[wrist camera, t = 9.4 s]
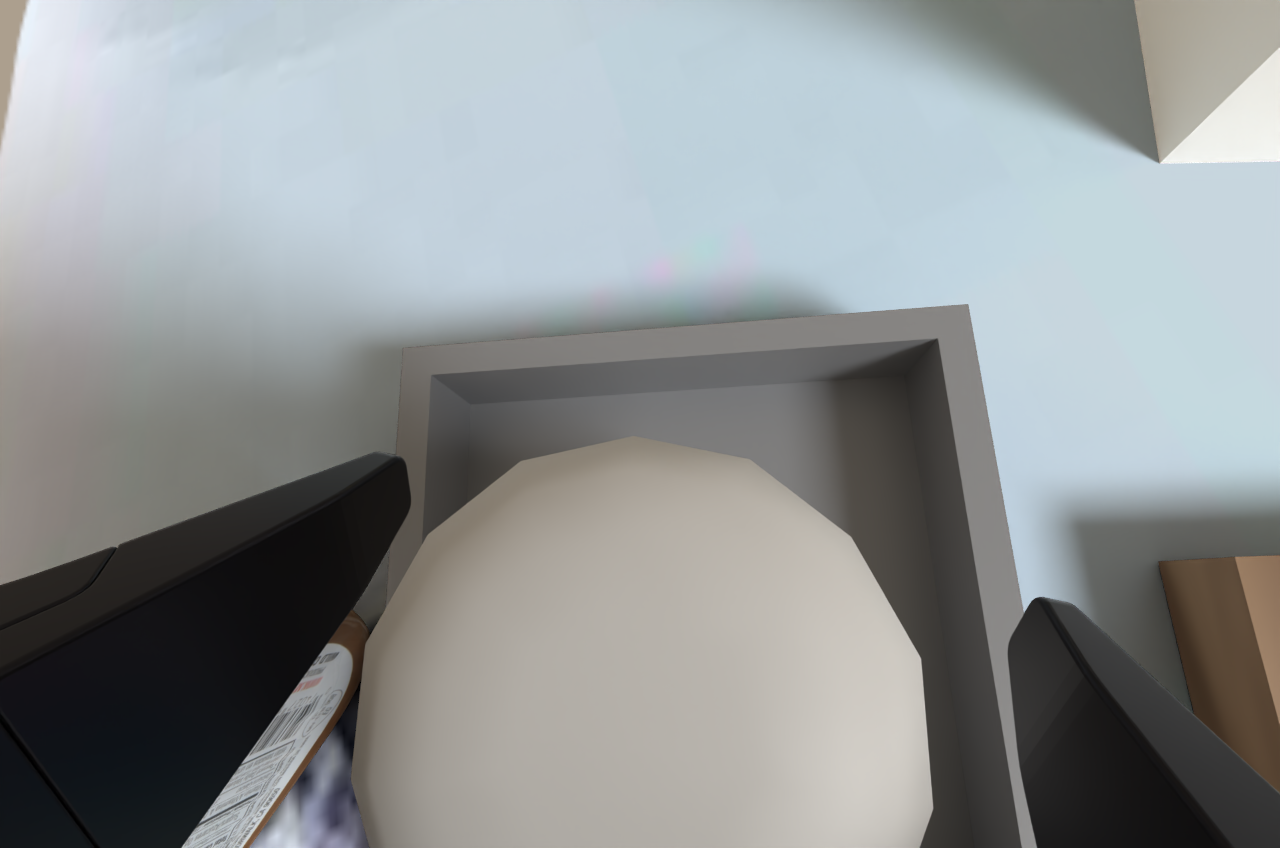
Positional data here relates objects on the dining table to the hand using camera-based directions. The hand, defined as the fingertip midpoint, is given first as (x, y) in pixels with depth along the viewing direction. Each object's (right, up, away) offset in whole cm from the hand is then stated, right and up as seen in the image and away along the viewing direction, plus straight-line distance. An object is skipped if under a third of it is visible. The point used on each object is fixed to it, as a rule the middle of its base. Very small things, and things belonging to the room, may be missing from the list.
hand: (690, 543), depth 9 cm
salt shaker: (+1, -4, +8) cm, 8 cm away
